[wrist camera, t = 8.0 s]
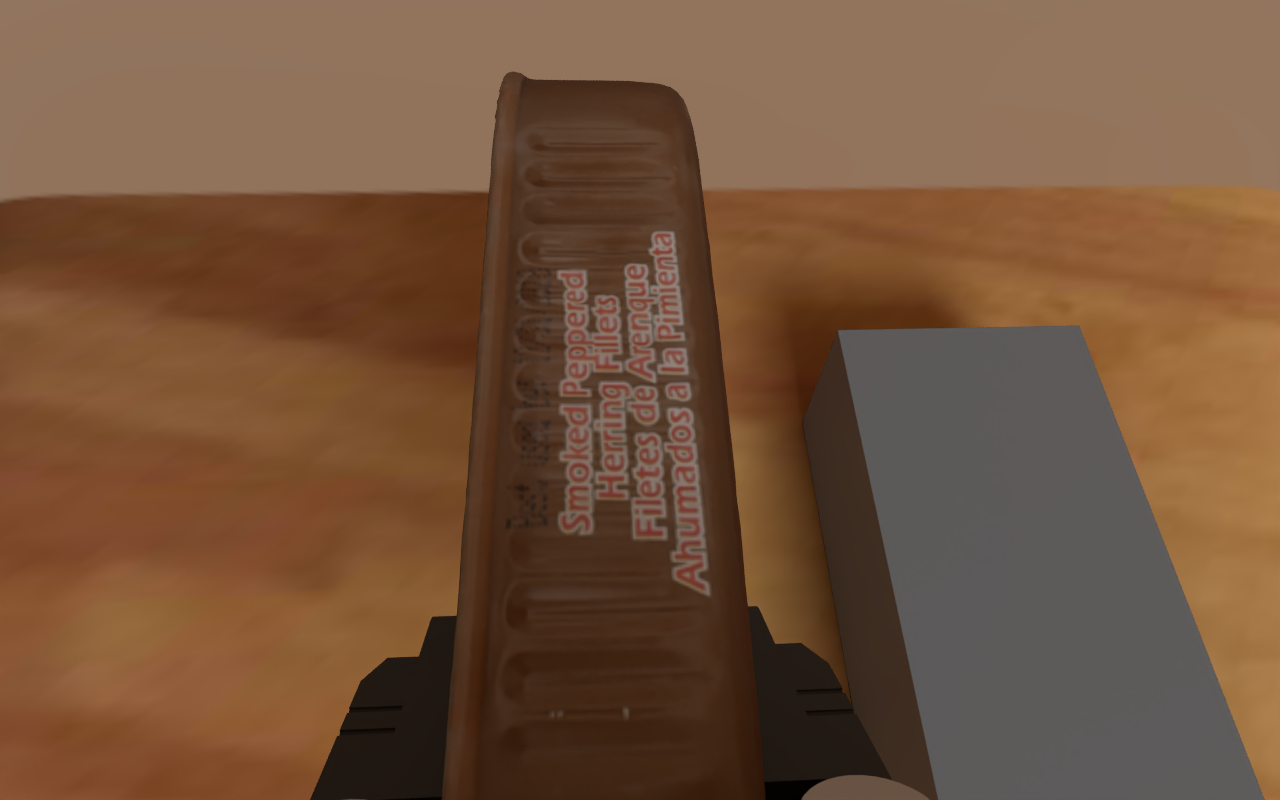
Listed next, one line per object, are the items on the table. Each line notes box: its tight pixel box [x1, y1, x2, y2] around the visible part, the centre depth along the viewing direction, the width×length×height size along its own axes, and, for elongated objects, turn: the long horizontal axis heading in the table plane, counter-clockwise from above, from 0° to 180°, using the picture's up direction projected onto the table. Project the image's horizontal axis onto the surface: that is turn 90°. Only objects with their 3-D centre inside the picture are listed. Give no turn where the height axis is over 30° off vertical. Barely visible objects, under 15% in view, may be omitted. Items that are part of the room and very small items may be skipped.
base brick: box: [802, 326, 1265, 800], centre depth 22 cm, size 7×19×5 cm, turn 3°
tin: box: [442, 72, 766, 800], centre depth 12 cm, size 15×3×8 cm, turn 2°
